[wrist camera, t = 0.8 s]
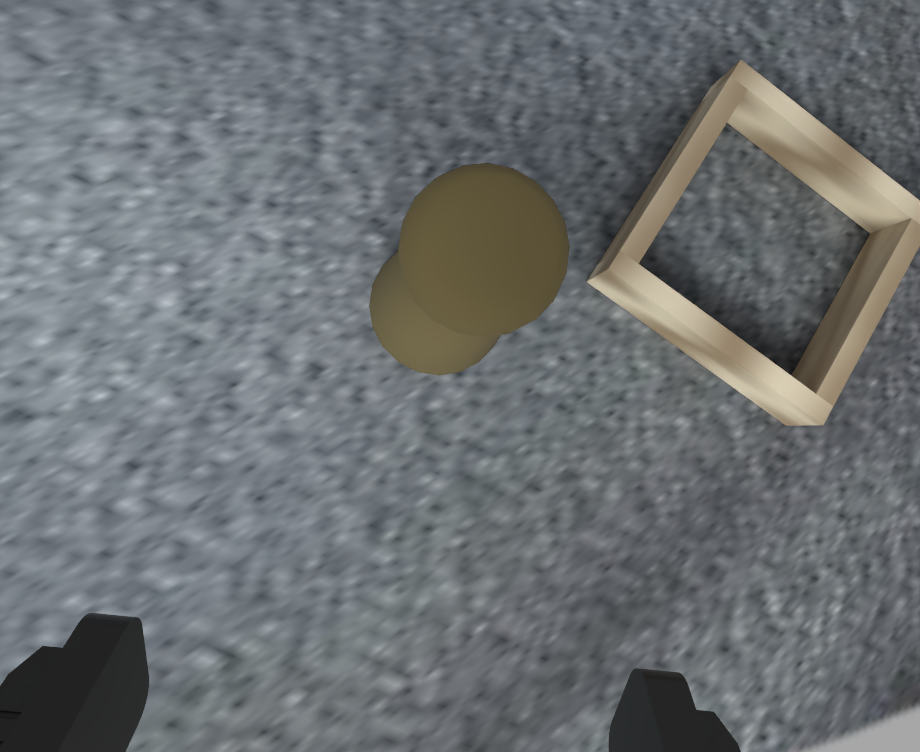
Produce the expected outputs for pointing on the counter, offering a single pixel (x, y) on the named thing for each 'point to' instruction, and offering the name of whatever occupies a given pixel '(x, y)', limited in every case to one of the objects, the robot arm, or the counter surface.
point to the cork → (468, 268)
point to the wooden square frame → (833, 177)
